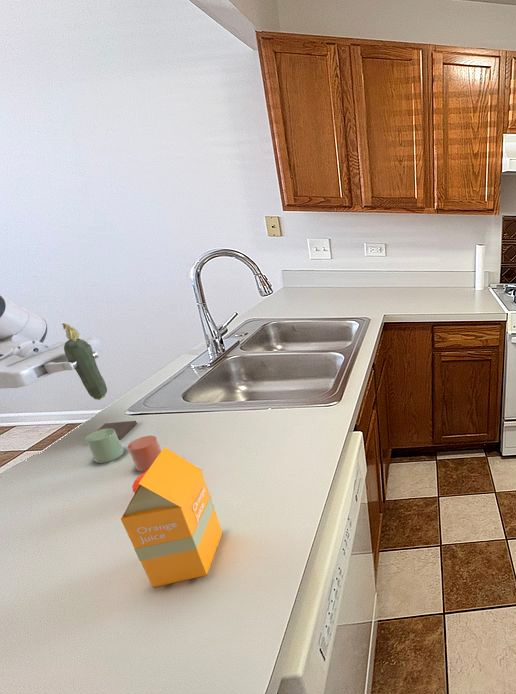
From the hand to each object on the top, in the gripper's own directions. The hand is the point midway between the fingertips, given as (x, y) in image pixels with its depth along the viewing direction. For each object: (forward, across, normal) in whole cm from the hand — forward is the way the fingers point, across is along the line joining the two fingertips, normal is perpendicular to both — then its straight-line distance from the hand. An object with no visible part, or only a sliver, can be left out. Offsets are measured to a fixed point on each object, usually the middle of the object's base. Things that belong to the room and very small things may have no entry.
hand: (85, 360), depth 92 cm
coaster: (-1, 0, -20) cm, 20 cm away
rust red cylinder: (+18, +12, -20) cm, 29 cm away
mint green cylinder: (+6, +9, -20) cm, 23 cm away
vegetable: (-1, 0, -11) cm, 11 cm away
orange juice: (+43, +35, -20) cm, 59 cm away
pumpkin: (+27, +20, -20) cm, 39 cm away
